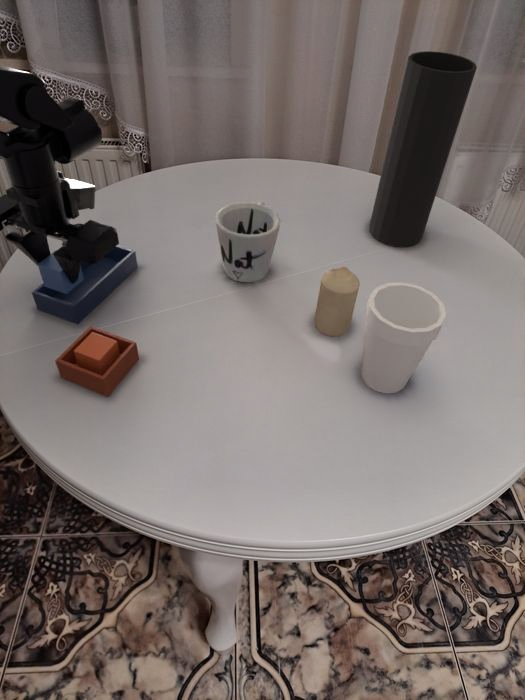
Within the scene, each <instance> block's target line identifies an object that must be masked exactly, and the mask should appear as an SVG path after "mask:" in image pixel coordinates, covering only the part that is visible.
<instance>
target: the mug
mask: <svg viewBox="0 0 525 700" xmlns="http://www.w3.org/2000/svg"><path fill="white" fill-rule="evenodd" d="M265 204H266V203H264V202H263V201H258V202H249V201H245V202H235V203H230V204H228V205H225V206H224V207H222V208H220V209H219V210H218V211H217V212H216V214H215V217H214V223H215V227H216V233H217V238H218V244H219V249H220V255H221V260H222V265H223V270H224V273H225V274H226V276H227V277H229V278H230V279H231V280H233V281H236V282H240V283H254V282H257V281H260V280H262V279H263V278H265V277H266V275H267V274H268V273H269V270H270V269H269V268H270V265H271V261H272V257H273V254H274V250H275V246H276V242H277V239H278V235H279V231H280V227H281V221H282V220H281V218H280V215H279V214H278V212H276V211H275V210H274V209H273V208H271V207H269V206H268V205H265Z"/></svg>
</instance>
